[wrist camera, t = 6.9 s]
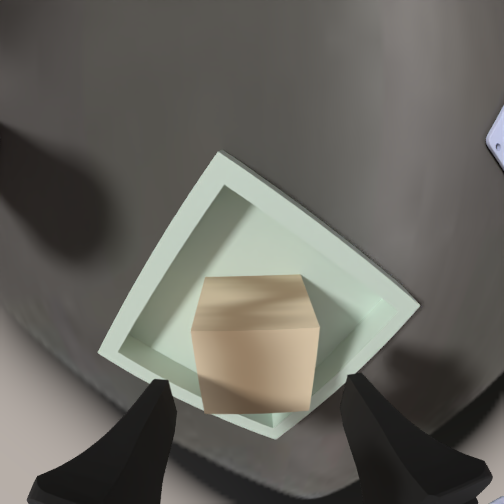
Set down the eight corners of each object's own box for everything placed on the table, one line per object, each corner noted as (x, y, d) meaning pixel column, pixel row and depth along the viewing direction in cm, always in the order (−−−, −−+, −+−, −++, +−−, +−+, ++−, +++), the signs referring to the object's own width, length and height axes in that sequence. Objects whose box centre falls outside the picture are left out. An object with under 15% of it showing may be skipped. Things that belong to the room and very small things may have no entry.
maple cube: (300, 274, 17) (319, 327, 12) (296, 349, 18) (308, 410, 14) (205, 276, 16) (190, 331, 12) (212, 352, 18) (204, 413, 14)
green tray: (402, 285, 18) (420, 305, 15) (273, 413, 21) (275, 439, 19) (222, 149, 15) (218, 151, 12) (111, 329, 18) (97, 352, 16)
